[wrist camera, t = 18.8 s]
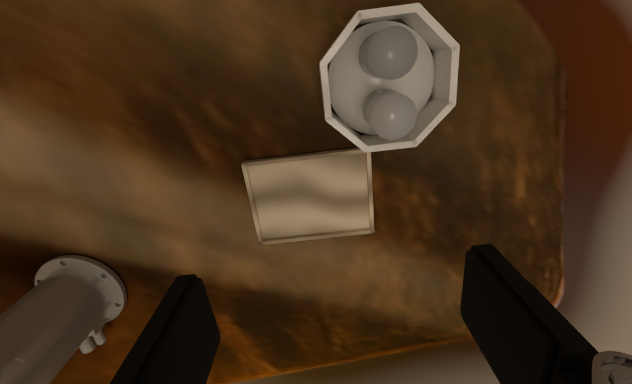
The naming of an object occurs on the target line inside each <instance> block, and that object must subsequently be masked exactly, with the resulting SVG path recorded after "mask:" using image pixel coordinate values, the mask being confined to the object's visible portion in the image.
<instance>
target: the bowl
mask: <svg viewBox="0 0 632 384" xmlns="http://www.w3.org/2000/svg"><path fill="white" fill-rule="evenodd" d="M397 19H402V20H403V21H404V22H405V23H406V24H407V25H408V26H407V25H404V24H402V23H399V22H395V21H389V20H397ZM366 23H369V24H366ZM358 24H366V25H364V26H362V27H360V28H358V29H356V30H355V31H354V32H352V31H353V30H354V28H355V27H356V26H357V25H358ZM389 26H402V27H404V28H406V29H408V30H409V31H410V32H411V33H412V34H413V35H414V37H415V39H416V41H417V46H418V55H417V59H416V62H415V64H414V66H413V68H412V69H411V70H410V71H409V72H408V73H407V74H406V75H405V76H403V77H401V78H399V79H395V80H386V79H382V78H378V77H374V76H371V75H369V74H367V73H366V72H364V71H363V69H362V68H361V66H360V64H359V60H358V52H359V48H360V46H361V44H362V42H363V41H364V40H365V38H367V37H368V36H369V35H371V34H373V33H375V32H377V31H380V30H382V29H384V28H387V27H389ZM351 32H352V33H351ZM429 48H430V49H431V50H432V51H433V57H432V54H431V51H430V49H429ZM459 50H460V46H459V44H458V43H457V42H456V41H455V40H454V39H453V38H452V37H451V36H450V34H449V33H448V32H447V31H446V30H445V29H444V28H443V27H442V26H441V25H440V24H439V23H438V22H437V21H436V20H435V19H434V18H433V17H432V16H431V15H430V14H429V13H428V11H427V10H426V9H425V8H424V7H423V6H422V5H421V4H420V3H414V4H406V5H398V6H391V7H383V8H376V9H368V10H360V11H357V12H356V13H355V14H354V15H353V17H352V18H351V19H350V20H349V22H348V23H347V24H346V26H345V27H344V28H343V30H342V31H341V33H340V34H339V35H338V37H337V38H336V39H335V41H334V42H333V43H332V45H331V46H330V48H329V49H328V50H327V52H326V53H325V54H324V56H323V57H322V58H321V60H320V61H319V72H320V81H321V91H322V101H323V110H324V116H325V120H326V121H327V122H328V123H329V124H330V125H332V126H333V127H334V128H335V129H336V130H338V131H339V132H340V133H341V134H343V135H344V136H345V137H346V138H348V139H349V140H350V141H351V142H353V143H354V144H355V145H356V146H358V147H359V148H360V149H361V150H362V151H364V152H365V153H367V152H375V151H384V150H393V149H401V148H410V147H416V146H418V145H419V144H420V143H421V141H422V140H423V139H424V138H425V137H426V136H427V135H428V134H429V133H430V132H431V131H432V130H433V129H434V128H435V127H436V126H437V124H438V123H439V122H440V121H441V120H442V119H443V118H444V117H445V116H446V115H447V114H448V113H449V112H450V111H451V110H452V109H453V108H454V106H455V105H456V94H457V79H458V65H459ZM330 61H331V62H330ZM329 62H330V65H329V69H327V65H328V63H329ZM380 88H387V89H390V90H393V91H395V92H398V93H401V94H403V95H405V96H407V97H409V98H410V99H411V100H412V101H413V102H414V104H415V106H416V109H417V120H416V123H415V126H414V127H413V129H412V130H411V131H410V132H409V133H408V134H407V135H406V136H404V137H402V138H400V139H396V140H387V139H384V138H382V137H380V136H379V135H378V134H377V133H376V132H375V131H374V130H373V128H372V127H371V126H370V125H369V123H368V122H367V121H366V119H365V117H364V115H363V104H364V101H365V99H366V97H367V96H368V95H369V94H370V93H371V92H372V91H374V90H376V89H380ZM430 95H431V98H430ZM429 98H430V99H429ZM428 100H429V101H428ZM331 104H332V106H333V109H334V110H335V112H336V114H337V115H338V116H339V117H338V116H336V115H335V114H334V113H333V112H332V111H331ZM353 129H354V130H353ZM355 130H356V131H359V132H361V133H365V134H369V135H359V134H358V133H357V132H356V131H355Z"/></svg>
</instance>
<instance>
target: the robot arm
mask: <svg viewBox="0 0 632 384" xmlns="http://www.w3.org/2000/svg"><path fill="white" fill-rule="evenodd" d="M126 301H127V293H126V288H125V286H124V284H123V282H122V281H121V279H120V278H119V277H118V275H117V274H116V273H115V272H114V271H113V270H111V269H110V268H109V267H107V266H106V265H104V264H102V263H101V262H99V261H97V260H94V259H91V258H88V257H84V256H79V255H62V256H58V257H55V258H53V259H51V260H49V261H48V262H46V263H45V264H44V265H42V266H41V268H40V269H39V270H38V271H37V273H36V275H35V287H34V288H33V289H31V290H30V291H29V292H28V293H27V294H25V295H24V296H23V297H22V298H20V299H19V300H18V301H17V302H16V303H14V304H13V305H12V306H11V307H9V308H8V309H7V310H6V311H5V312H3V313H2V314H1V315H0V384H50V382H51V381H52V380H53V379H54V377H55V376H56V375H57V374H58V372H59V371H60V370H61V369H62V368H63V366H64V365H65V364H66V363H67V361H68V360H69V359H70V358H71V356H72V355H73V354H74V353H75V352H76V350H77V349H78V348H80V350H81V351H82V353H83V354H86V353H89V352H91V351H92V350H94V349H95V348H96V343H97V345H101V344H103V343H105V342H106V340H107V338H106V336H105V334H104V332H103V331H102V328H103V326H104V324H105V323H106V322H108V321H111V320H113V319H114V318H116V317H117V316H118V315H119V314H120V312H121V311H122V310H123V308H124V307H125V304H126ZM460 310H461V316H462V318H463V320H464V322H465V324H466V326H467V327H468V329H469V331H470V332H471V334H472V336H473V338H474V339H475V341H476V343H477V344H478V346H479V348H480V350H481V351H482V353H483V355H484V356H485V358H486V360H487V361H488V363H489V365H490V367H491V368H492V370H493V372H494V373H495V375H496V377H497V379H498V380H499V382H500V384H632V355H629V354H625V353H621V352H616V351H604V352H598V351H597V350H596V349H595V348H594V347H593V346H592V345H591V344H590V343H589V342H588V341H587V340H586V339H585V338H584V337H583V336H582V335H581V334H580V333H579V332H578V331H577V330H576V329H575V328H574V327H573V326H572V325H571V324H570V323H569V322H568V321H567V320H566V319H565V318H564V317H563V316H562V315H561V314H560V313H559V312H558V310H557V309H556V308H555V307H554V306H553V305H552V304H551V303H550V302H549V301H548V300H547V299H546V298H545V297H544V296H543V295H542V294H541V293H540V292H539V291H538V290H537V289H536V288H535V287H534V286H533V285H532V284H531V283H529V282H528V281H527V280H526V279H525V278H524V277H523V276H522V275H521V274H520V273H519V272H518V271H517V270H516V269H515V268H514V267H513V266H512V265H511V263H510V262H509V261H508V260H507V259H506V258H505V257H504V256H503V255H502V254H501V253H500V252H499V251H498V250H497V249H496V248H495V247H494V246H493V245H491V244H484V245H474V246H472V247H471V250H468V251H467V252H466V258H465V268H464V278H463V288H462V298H461V309H460ZM92 336H93V337H94V339H93V337H92ZM94 340H95V341H94ZM219 342H220V332H219V329H218V326H217V323H216V320H215V317H214V314H213V311H212V308H211V305H210V302H209V299H208V296H207V293H206V290H205V287H204V284H203V281H202V279H201V278H197V276H196V275H194V274H192V275H182V276H178V277H176V279H175V280H174V282H173V283H172V285H171V287H170V288H169V290H168V291H167V293H166V295H165V296H164V298H163V299H162V301H161V303H160V304H159V306H158V307H157V309H156V311H155V312H154V314H153V315H152V317H151V319H150V320H149V322H148V323H147V325H146V326H145V328H144V330H143V331H142V333H141V334H140V336H139V338H138V339H137V341H136V342H135V344H134V346H133V347H132V349H131V350H130V352H129V354H128V355H127V357H126V358H125V360H124V362H123V363H122V365H121V367H120V368H119V370H118V371H117V373H116V375H115V376H114V378H113V379H112V381H111V383H110V384H206V382H207V379H208V376H209V373H210V370H211V367H212V364H213V360H214V357H215V354H216V351H217V348H218V345H219Z"/></svg>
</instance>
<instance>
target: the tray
mask: <svg viewBox="0 0 632 384" xmlns="http://www.w3.org/2000/svg"><path fill="white" fill-rule="evenodd" d="M241 165H242V170H243V174H244V179H245V183H246V187H247V192H248V196H249V201H250V205H251V210H252V214H253V219H254V223H255V227H256V232H257V236H258V241H259V245H265V244H274V243H284V242H293V241H303V240H312V239H322V238H331V237H341V236H350V235H360V234H369V233H374V214H373V191H372V169H371V152H367V153H365V152H364V151H362V150H361V149H360V148H351V149H342V150H334V151H325V152H316V153H308V154H299V155H290V156H282V157H273V158H264V159H256V160H247V161H242V163H241Z"/></svg>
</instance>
